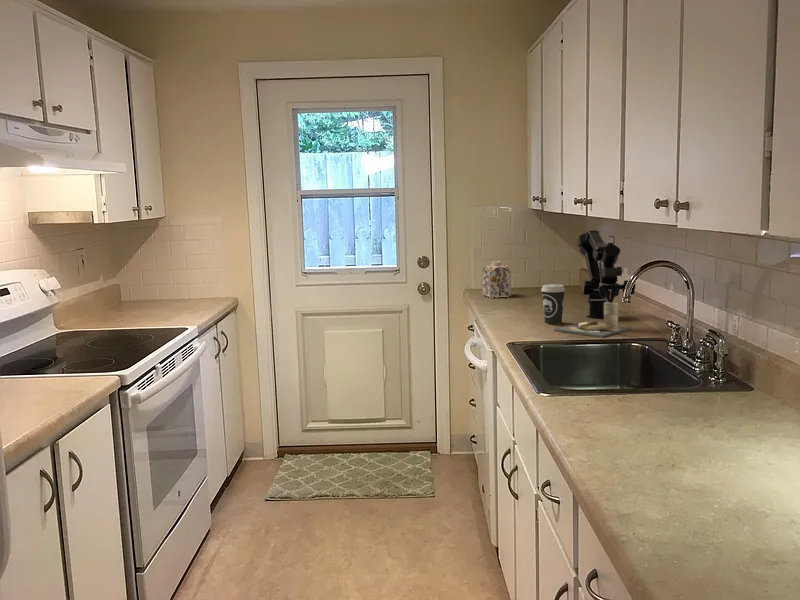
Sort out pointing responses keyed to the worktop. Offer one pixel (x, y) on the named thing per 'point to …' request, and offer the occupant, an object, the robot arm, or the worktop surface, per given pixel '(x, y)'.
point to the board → (597, 333)
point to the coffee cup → (553, 303)
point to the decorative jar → (496, 280)
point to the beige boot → (609, 319)
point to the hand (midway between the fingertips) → (610, 305)
